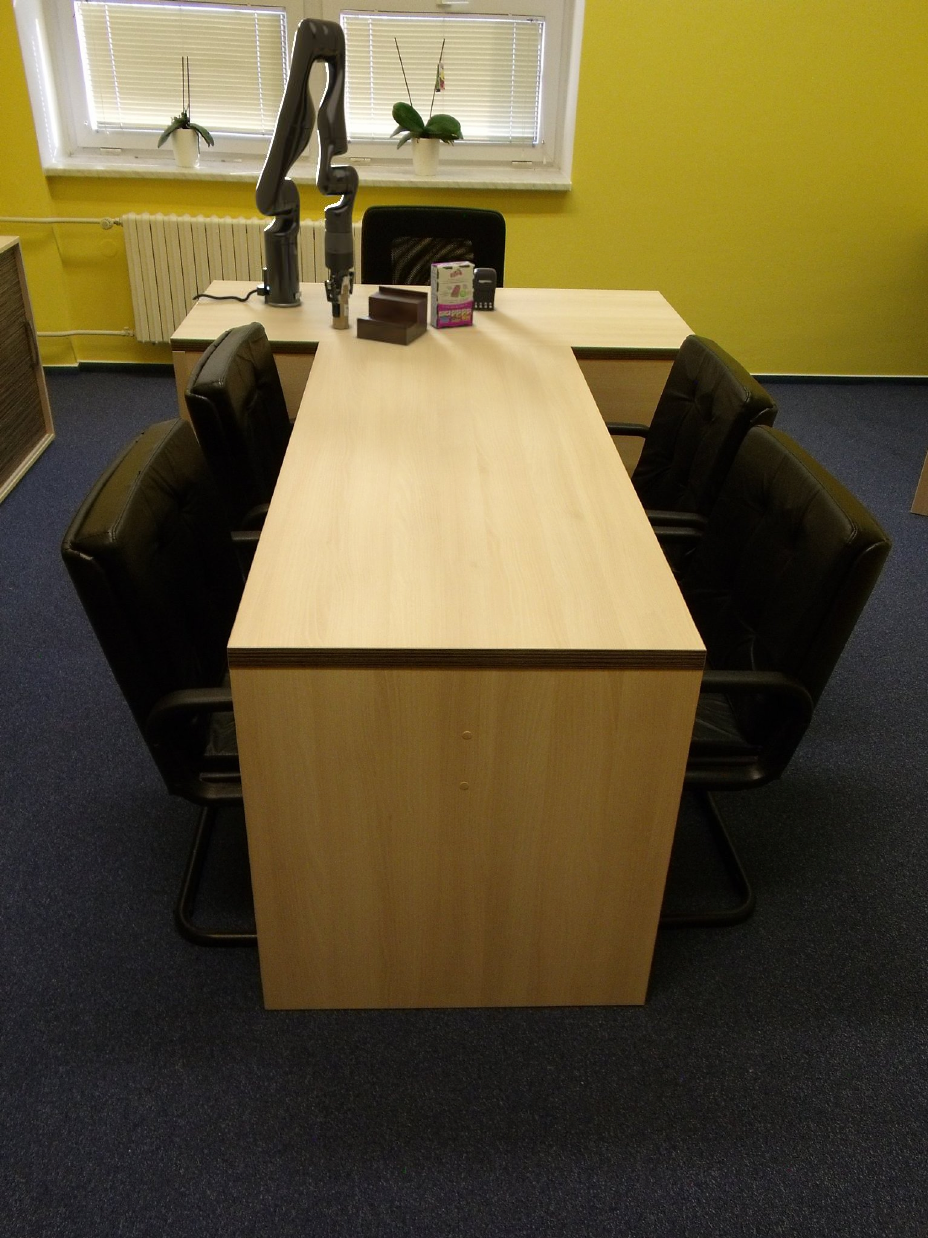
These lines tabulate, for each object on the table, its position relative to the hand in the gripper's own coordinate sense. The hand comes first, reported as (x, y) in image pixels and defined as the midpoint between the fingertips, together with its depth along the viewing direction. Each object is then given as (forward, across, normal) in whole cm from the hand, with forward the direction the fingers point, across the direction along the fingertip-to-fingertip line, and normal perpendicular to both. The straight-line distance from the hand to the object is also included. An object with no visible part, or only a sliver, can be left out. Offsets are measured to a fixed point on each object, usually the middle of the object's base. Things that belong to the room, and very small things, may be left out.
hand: (340, 314), depth 272 cm
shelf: (+3, 0, +15) cm, 15 cm away
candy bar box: (+3, -16, +26) cm, 31 cm away
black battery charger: (+3, -35, +29) cm, 46 cm away
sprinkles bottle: (+3, 0, 0) cm, 3 cm away
